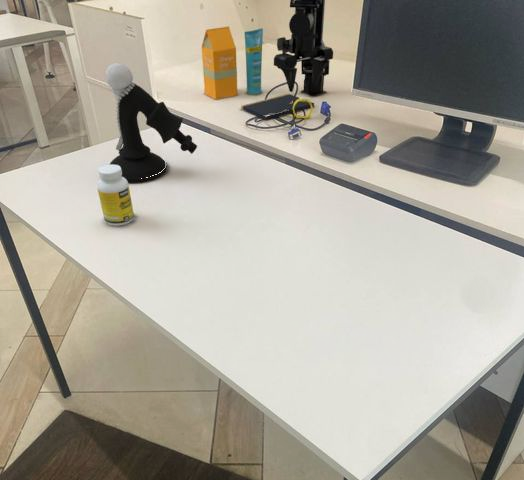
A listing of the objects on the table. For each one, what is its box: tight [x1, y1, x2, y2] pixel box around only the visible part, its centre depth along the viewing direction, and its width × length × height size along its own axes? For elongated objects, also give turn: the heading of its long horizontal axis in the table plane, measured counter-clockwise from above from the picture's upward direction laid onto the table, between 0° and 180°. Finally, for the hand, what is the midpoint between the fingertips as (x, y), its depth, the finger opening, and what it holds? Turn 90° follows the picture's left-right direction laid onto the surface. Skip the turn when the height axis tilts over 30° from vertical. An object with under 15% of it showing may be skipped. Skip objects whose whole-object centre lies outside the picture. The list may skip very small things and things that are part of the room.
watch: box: [292, 96, 313, 120], centre depth 163 cm, size 6×3×6 cm, turn 90°
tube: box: [244, 27, 264, 96], centre depth 178 cm, size 7×5×19 cm, turn 134°
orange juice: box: [201, 26, 239, 100], centre depth 177 cm, size 8×9×20 cm
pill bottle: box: [96, 163, 135, 226], centre depth 113 cm, size 6×6×12 cm
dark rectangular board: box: [240, 93, 315, 121], centre depth 172 cm, size 20×13×1 cm, turn 128°
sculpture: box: [105, 62, 198, 184], centre depth 128 cm, size 15×24×25 cm, turn 86°
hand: (302, 88), depth 160 cm, fingers open, 9 cm apart
